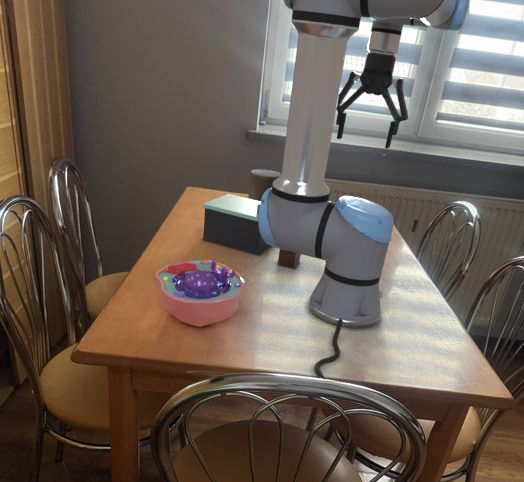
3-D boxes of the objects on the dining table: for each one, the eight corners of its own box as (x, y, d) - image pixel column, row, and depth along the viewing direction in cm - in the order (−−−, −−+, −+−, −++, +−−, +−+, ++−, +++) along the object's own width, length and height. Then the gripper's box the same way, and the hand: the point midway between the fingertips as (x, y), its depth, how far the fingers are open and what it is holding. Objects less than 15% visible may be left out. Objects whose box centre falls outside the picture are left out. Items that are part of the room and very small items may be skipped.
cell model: (242, 299, 109) (247, 249, 104) (239, 347, 92) (245, 290, 86) (163, 291, 108) (164, 240, 102) (145, 337, 91) (145, 279, 85)
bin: (258, 255, 133) (262, 222, 129) (203, 239, 138) (204, 207, 134) (277, 241, 144) (282, 210, 140) (226, 227, 149) (228, 197, 145)
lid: (263, 222, 128) (264, 209, 126) (202, 207, 133) (203, 194, 132) (284, 210, 140) (285, 197, 138) (228, 197, 145) (229, 184, 143)
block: (293, 268, 128) (296, 251, 126) (277, 264, 129) (279, 247, 127) (299, 263, 132) (302, 247, 129) (283, 259, 133) (286, 243, 131)
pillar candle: (272, 223, 158) (278, 174, 150) (242, 217, 159) (247, 168, 152) (279, 215, 166) (286, 168, 158) (251, 210, 168) (256, 163, 160)
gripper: (433, 60, 127) (410, 150, 138) (338, 48, 134) (324, 133, 145) (429, 59, 121) (405, 153, 132) (330, 46, 128) (315, 135, 139)
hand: (362, 143), depth 139 cm, fingers open, 13 cm apart
